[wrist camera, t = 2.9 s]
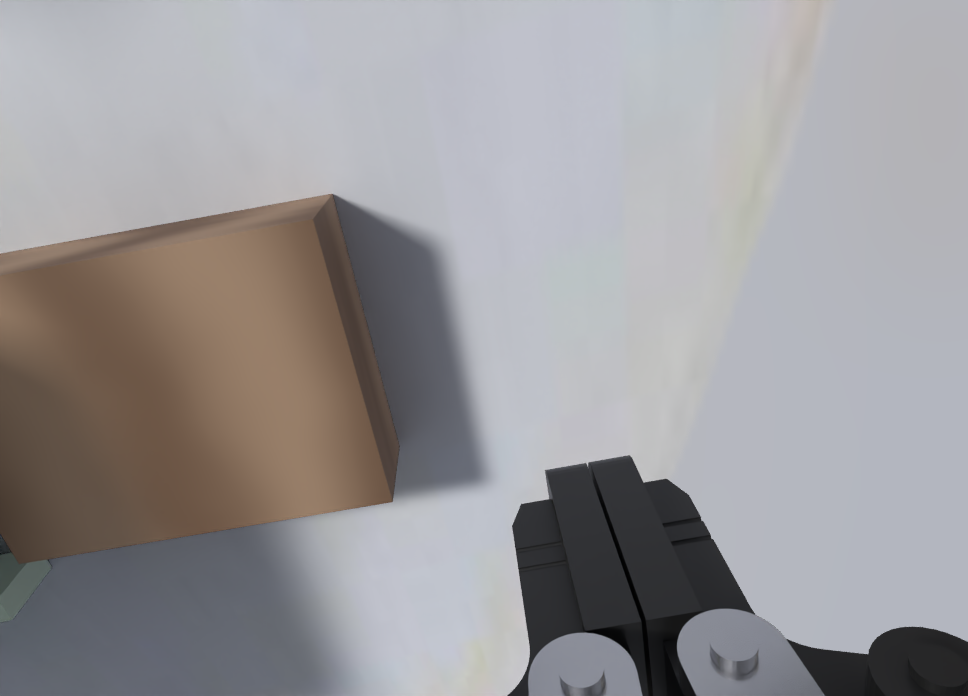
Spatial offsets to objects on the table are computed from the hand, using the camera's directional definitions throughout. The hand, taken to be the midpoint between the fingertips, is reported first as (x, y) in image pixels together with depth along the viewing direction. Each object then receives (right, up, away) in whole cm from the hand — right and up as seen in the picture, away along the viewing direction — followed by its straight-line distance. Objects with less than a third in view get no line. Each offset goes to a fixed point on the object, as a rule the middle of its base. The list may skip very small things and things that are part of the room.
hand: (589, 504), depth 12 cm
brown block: (-12, +2, +10) cm, 16 cm away
